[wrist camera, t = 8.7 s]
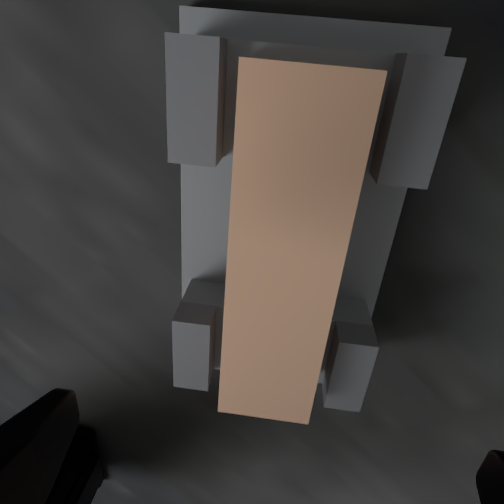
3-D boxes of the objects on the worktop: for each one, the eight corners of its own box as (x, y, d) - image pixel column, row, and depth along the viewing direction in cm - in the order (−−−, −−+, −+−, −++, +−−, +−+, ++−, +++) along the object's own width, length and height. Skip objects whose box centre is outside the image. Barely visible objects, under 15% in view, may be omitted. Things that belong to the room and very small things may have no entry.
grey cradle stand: (186, 340, 23) (164, 399, 19) (186, 8, 15) (146, -9, 11) (353, 362, 22) (365, 427, 18) (442, 29, 15) (497, 19, 11)
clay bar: (228, 363, 19) (217, 411, 17) (250, 56, 13) (239, 56, 10) (306, 373, 19) (308, 424, 17) (368, 67, 13) (387, 70, 10)
